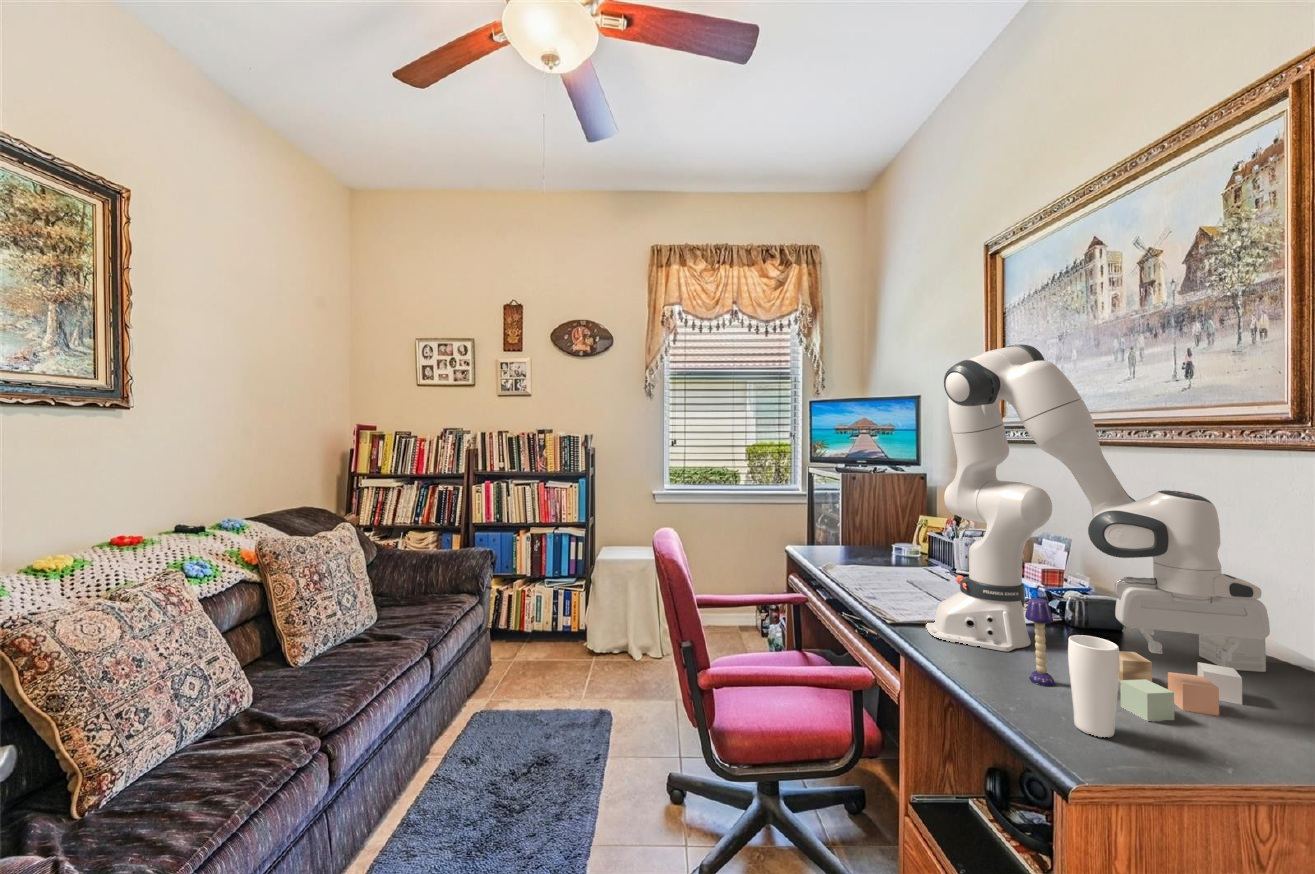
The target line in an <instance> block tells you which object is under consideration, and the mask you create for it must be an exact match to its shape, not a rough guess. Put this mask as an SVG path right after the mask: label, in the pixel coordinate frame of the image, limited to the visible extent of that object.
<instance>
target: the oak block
mask: <svg viewBox="0 0 1315 874" xmlns="http://www.w3.org/2000/svg"><path fill="white" fill-rule="evenodd" d="M1119 658H1120V673H1119V683H1120V680H1142V679H1146V680H1148V681H1151V682H1153V662H1152V661H1150V660H1149V659H1147V658H1145V657H1143V656H1142V655H1140V654H1138V653H1137V652H1136V651H1121V650H1119Z"/></svg>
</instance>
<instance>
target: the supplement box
mask: <svg viewBox="0 0 1315 874" xmlns="http://www.w3.org/2000/svg"><path fill="white" fill-rule="evenodd" d="M1226 641H1227V640H1226V639H1224V638H1223V636H1216V635H1206V634H1198V648H1199V649H1198V650H1199V651H1198V655H1199V657H1201V658H1203V659H1205V660H1207V661H1209V662H1210V663H1213V664H1214V665H1217V666H1223V667H1229V668H1234V669H1235V670H1236V671H1242V672H1243V671H1245V672H1259V673H1266V671H1267V666H1266V665H1267V664H1266V662H1267V657H1266V656H1267V655H1266V653H1267V652H1266V638H1265V639H1263V640H1259V639H1249V638H1240V643H1241V644H1240V645H1239V646H1238V647H1237V648H1236V649H1235V650H1234V651H1233V652H1232V661H1224V660H1219V659H1218V658H1217V657H1216V653H1217V652H1216V647H1217V648H1221V647H1222V646H1223V645H1224V643H1225V642H1226Z"/></svg>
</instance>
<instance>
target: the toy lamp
mask: <svg viewBox="0 0 1315 874" xmlns="http://www.w3.org/2000/svg"><path fill="white" fill-rule="evenodd" d="M1024 618H1025V619H1026V620H1028V621H1030V622H1032V623H1034V634H1035V636H1034V641H1035V643H1034V646H1035V663H1036V666H1035V671H1032V672H1031V673H1030V675H1029V677H1028V679H1030V680H1031V681H1032V682H1031V681H1030V680H1029V681H1030V682H1031V683H1033V682H1034V683H1033V684H1035V683H1038V684H1040V685H1039V686H1042V685H1043V687H1054V686H1055V685H1056V682H1055V679H1054V678H1053V676H1052V675H1051V674H1049V673H1048V669H1047V659H1046V658H1047V652H1046V651H1047V646H1046V641H1047V640H1046V636H1045V635H1046V629H1045V627H1046V624H1051V623H1053V622H1054V617H1053V615H1052V611H1051V609H1050V606H1049V603H1048V601H1047V600H1046V599H1043V598H1040V597H1039V598H1038V597H1033V598H1030V599H1029V600H1028V603H1027V607H1026V610H1025V613H1024ZM1038 684H1037V685H1038Z"/></svg>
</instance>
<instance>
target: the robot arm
mask: <svg viewBox="0 0 1315 874" xmlns="http://www.w3.org/2000/svg"><path fill="white" fill-rule="evenodd" d="M943 386H944V391H945V393H946V395H947V396H948V398H947V400H948V403H947V405H948V407H947V408H948V409H947V410H948V418H949V424H950V425H949V426H950V430H951V434H952V438H953V439H952V440H953V444H954V449H955V454H956V463H957V464H956V473H955V476H954V478H953V480H952V481H951V482H950V483H949V484H948V485H947V487H946V489H945V491H944V497H943V499H944V500H943V501H944V505H945V507H946V509H947V510H948V512H949V513H950V514H953V515H955V516H957V517H959V518H962V519H964V520H967V521H972V522H976V523H977V522H979V523H983V524H986V529H985V532H984V535H983V537H982V538H980V539H977V540H976V541H975V542H972V543H971V545H970V546H969V548H968V576H967V577H964V576H963V575H957V576H955V581H956V582H957V584H958V585H959V589H960V590H959V591H958V592H957V593H955V594H953V595H951V596H950V597H949V596H948V597H947V598H945V599H944V600H942V601H941V602H939V604H938V605H937V608H936V611H935V616H934V618H935V622H934V623H927V624H926V623H925V629H926V628H927V630H928V632H929V633H930V634H931V635H933V636H934V637H937V638H939V639H942V640H941V641H943V640H946V641H945V642H949V641H950V642H949V643H955V642H959V643H958V644H960V643H963V644H962V645H966V644H968V645H967V646H973V647H977V646H980V647H979V648H984V649H989V650H990V649H991V650H994V651H995V650H996V651H1000V652H1001V651H1002V652H1010V651H1013V650H1015V649H1022V648H1026V647H1028V646H1030V645H1031V643H1032V641H1031V639H1030V636H1029V633H1028V629H1027V625H1026V620H1025V619H1026V617H1025V613H1024V607H1025V603H1026V589H1025V584H1024V583H1023V580H1022V579H1023V555H1024V552H1025V551H1024V550H1025V546H1026V544H1027V542H1028V540H1029V539H1030V537H1031V536H1032V535H1033V533H1034V532H1035V531H1037V530H1038V529H1040V528H1042V527H1043V526H1044V525H1046V524H1047V522H1048V521H1049V520H1050V518H1051V516H1052V513H1053V503H1052V499H1051V497H1050V495H1049V494H1048V492H1047V491H1046V490H1044V489H1043V488H1041V487H1039V486H1035V485H1032V484H1028V483H1025V482H1019V481H1008V480H999V479H998V478H997V468H998V466H999V465H1001V464H1002V463H1004V461H1005V460H1006V459H1008V457H1009V455H1010V447H1009V442H1008V439H1007V433H1006V430H1005V429H1006V428H1005V424H1004V420H1003V418H1002V417H1003V416H1002V413H1001V409H1000V403H1001V401H1005V402H1008V403H1009V404H1010V405H1011V406H1012V407H1013V409H1014V410H1015V412H1016V414H1017V416H1018V418H1019V420H1020V422H1021V423H1022V426H1023V427H1024V429H1025V430H1026V432H1027V433H1028V435H1029V437H1030V438H1031V439H1032V440H1033V442H1034V443H1036V445H1037V446H1038V448H1040V450H1042V451H1043V452H1045V453H1047V454H1048V455H1050V456H1052V457H1054V458H1055V459H1057V460H1058V461H1059V462H1061V463H1062V464H1063V465H1064V466H1065V467H1067V469H1068V470H1069V471H1070V473H1071V474H1072V476H1073V477H1074V479H1075V481H1076V482H1077V483H1078V486H1079V487H1080V489H1081V491H1082V493H1084V495H1085V497H1086V498H1087V500H1088V502H1089V504H1090V507H1091V512H1092V518H1091V520H1090V521H1089V524H1088V529H1087V533H1088V538H1089V539H1090V542H1091V543H1092V544H1093V546H1094V547H1095V548H1096V549H1097V550H1099V551H1100V552H1101V553H1104V554H1106V555H1108V556H1110V557H1113V558H1119V559H1120V558H1122V559H1130V558H1131V559H1132V558H1133V559H1134V558H1136V559H1137V558H1152V561H1153V562H1152V564H1153V567H1152V570H1153V573H1152V574H1153V577H1132V576H1124V577H1123V578H1120V579H1118V580H1117V581H1115V583H1114V595H1115V597H1116V602H1115V610H1114V611H1115V612H1114V615H1115V618H1116V620H1117V621H1118V622H1119V623H1120V624H1121V625H1123V626H1124V627H1127V628H1133V629H1139V631H1140V633H1141V634H1142V635H1143V637H1144V638H1145V640H1146V641H1147V644H1148V645H1147V647H1148V651H1149V652H1150V653H1152V654H1161V655H1162V654H1163V644H1162V643H1160V642H1159V641H1155V639H1154V638H1153V637H1152V636H1155V631H1162V632H1164V631H1165V632H1177V633H1186V634H1196V635H1199V634H1206V635H1216V636H1223V638H1224V639H1226V640H1227V641H1226V642H1225V643H1224V645H1223V646H1222V647H1221V648H1217V647H1216V652H1217V653H1216V657H1217V658H1218V659H1219V660H1224V661H1232V652H1233V651H1234V650H1235V649H1236V648H1237V647H1238V646H1239V645H1240V644H1241V643H1240V638H1249V639H1259V640H1263V639H1265V640H1266V639H1267V638H1268V637H1269V636H1270V632H1271V629H1270V627H1271V626H1270V620H1269V614H1268V610H1267V607H1266V605H1265V604H1264V603H1263V602H1262V601H1261V600H1259V599H1261V597H1262V593H1263V592H1262V589H1261V588H1260V587H1258V585H1255V584H1253V583H1251V582H1250V581H1247V580H1245V579H1241V578H1238V577H1236V576H1232V575H1230V574H1226V573H1222V565H1221V562H1220V560H1219V555H1218V554H1219V548H1220V547H1221V529H1220V528H1221V527H1220V520H1219V519H1220V518H1219V516H1218V510H1217V508H1216V506H1215V505H1214V503H1213V502H1211V501H1210V500H1209V499H1207V498H1206V497H1204V496H1201V495H1198V494H1195V493H1190V492H1186V491H1178V490H1177V491H1176V490H1169V489H1168V490H1167V489H1164V490H1158V491H1156V492H1155V493H1154V494H1152V495H1149V496H1146V497H1145V498H1142V499H1139V500H1135V499H1134V498H1132V497H1131V496H1130V495H1129V494H1128V493H1127V491H1126V490H1125V489H1124V487H1123V485H1122V484H1121V482H1120V480H1119V479H1118V477H1117V475H1116V474H1115V473H1114V471H1113V469H1112V468H1111V466H1110V465H1109V464H1108V462H1107V460H1106V458H1105V456H1104V455H1103V452H1102V449H1101V445H1100V441H1099V436H1098V433H1097V429H1096V426H1095V423H1094V420H1093V417H1092V415H1091V412H1090V411H1089V409H1088V407H1087V405H1086V403H1085V401H1084V399H1083V398H1082V396H1081V395H1080V393H1079V392H1078V390H1077V389H1076V388H1075V386H1074V385H1073V383H1072V382H1071V381H1070V379H1069V378H1068V377H1067V376H1066V375H1065V374H1064V373H1063V372H1062V371H1061V369H1060V368H1059V367H1058V366H1057V365H1056V364H1054V363H1053V362H1051V361H1048V360H1045V358H1044V355H1043V354H1042V353H1041V352H1040V350H1038V348H1036V347H1035V346H1032V345H1029V344H1011V345H1007V346H1006V347H1003V348H1002V347H1001V348H996V349H995V348H994V349H992V350H988V351H984V352H983V353H981V354H979V355H976V356H973V357H971V358H969V359H965V360H961V361H959V362H958V363H956V364H954V365H952V366H951V367H950V368H948V369H947V371H946V372H945V375H944V378H943ZM927 630H926V631H927ZM928 632H927V633H928ZM929 633H928V634H929ZM930 634H929V635H930ZM931 635H930V636H931ZM934 637H933V638H934Z"/></svg>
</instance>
